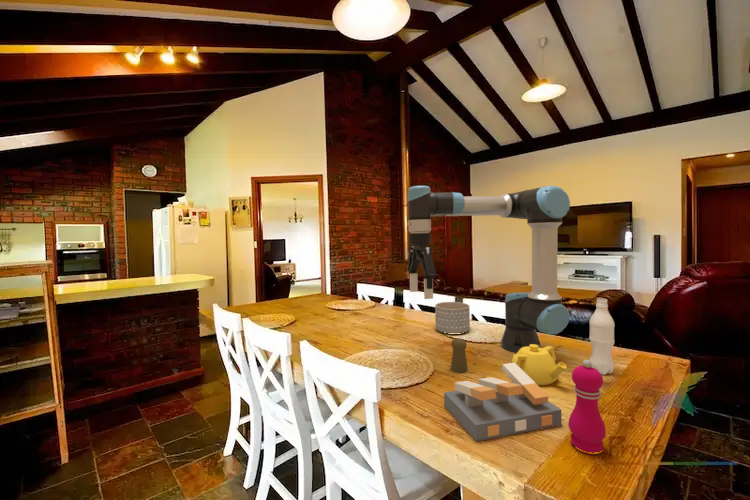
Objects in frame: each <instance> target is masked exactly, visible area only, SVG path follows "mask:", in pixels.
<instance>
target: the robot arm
mask: <svg viewBox="0 0 750 500" xmlns="http://www.w3.org/2000/svg"><path fill="white" fill-rule="evenodd" d="M570 207H571V201H570V197H569V195H568V194H567V192H566V191H565V190H564V189H563V188H561V187H560V186H556V185H546V186H541V187H536V188H532V189H525V190H521V191H517V192H513V193H502V194H501V195H499V196H497V195H495V196H494V195H493V196H492V195H490V196H488V195H487V196H485V195H482V196H481V195H480V196H479V195H478V196H470V195H467V196H464V195H463V193H461V192H454V191H451V192H432V191H431V187H430V186H429V185H413V186H410V187H409V188H408V190H407V213H408V214H407V216H408V217H407V218H408V221H407V224H406V225H407V226H408V232H409V233H408V244H409V245H410V246H409V254H408V259H407V260H408V261H407V268H406V271H407V272H408V274H409V292H410V293H415V292H419V290H418V287H419V286H418V281H419V280H418V273H419V271H418V268H419V265H421V268H422V272H423V277H422V278H423V279H422V280H423V292H424V293H423V296H424V297H423V298H424V300H429V299H430V300H432V299H434V283H433V282H434V280H433V279H434V278H436V277H437V273H436V268H435V263H434V259H433V258H434V257H433V254H432V252H433V251H432V247H429V246H428V247H427V245H430V244H432V234H431V233H430V232H431V231H432V220H431V219H432V217H460V216H461V217H464V216H465V217H468V216H470V217H471V216H473V217H474V216H481V217H482V216H499V217H500V218H503V219H504V218H507V219H519V220H520V219H521V220H527V223H526V224H527V226H528V227H530V228H531V291H530V292H529V291H527V292H526V291H524V292H523V291H522V292H521V291H519V292H518V291H517V292H509V293H507V294H506V295H505V300H504V307H505V316H504V317H505V320H504V321H505V328H504V331H503V334H502V338H501V341H500V345H501V347H502V349H504V350H507V351H509V352H513V353H517V352H518V351H519V350H520V349H521V348H522V347H527V346H529V345H531V344H535V345H538V346H539V348H542V347H541V346H542V345H541V342H540V338H539V336H538V333H537V332H540V333H542V334H547V335H549V336H550V335H551V336H553V335H558V334H559V333H561V332H563V331H564V329H565V328H566V327H567V326H568V324H569V322H570V312H569V310H568V309H567V307H566V306H565V305H564V304H563V297H562V296H561V295H560V294H559V292H558V231H559V230H558V228H559V227H560V226H561V225H562V224H563V217H565V216H566V215H567V214H568V212H569V210H570Z"/></svg>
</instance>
